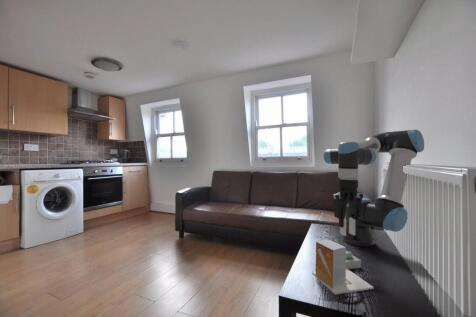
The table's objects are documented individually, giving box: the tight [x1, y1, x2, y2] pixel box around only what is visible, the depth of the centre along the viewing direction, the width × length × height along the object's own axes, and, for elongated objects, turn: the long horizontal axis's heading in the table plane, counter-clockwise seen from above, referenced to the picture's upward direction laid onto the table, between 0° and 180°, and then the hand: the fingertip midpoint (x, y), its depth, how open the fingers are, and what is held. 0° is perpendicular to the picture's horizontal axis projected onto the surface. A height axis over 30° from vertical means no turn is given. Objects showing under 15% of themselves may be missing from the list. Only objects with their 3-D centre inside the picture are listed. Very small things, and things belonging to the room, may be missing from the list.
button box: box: [346, 254, 362, 270], centre depth 88 cm, size 7×7×3 cm
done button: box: [346, 250, 353, 260], centre depth 88 cm, size 3×3×2 cm
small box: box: [315, 239, 347, 288], centre depth 75 cm, size 8×6×13 cm
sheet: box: [312, 268, 375, 295], centre depth 76 cm, size 15×13×1 cm
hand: (347, 234), depth 88 cm, fingers open, 4 cm apart
